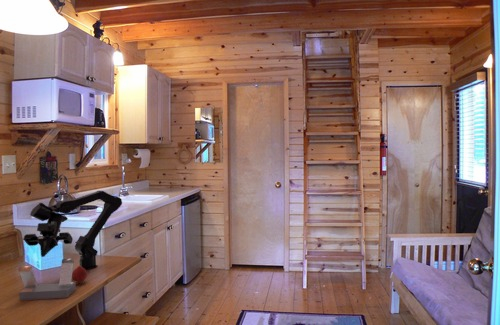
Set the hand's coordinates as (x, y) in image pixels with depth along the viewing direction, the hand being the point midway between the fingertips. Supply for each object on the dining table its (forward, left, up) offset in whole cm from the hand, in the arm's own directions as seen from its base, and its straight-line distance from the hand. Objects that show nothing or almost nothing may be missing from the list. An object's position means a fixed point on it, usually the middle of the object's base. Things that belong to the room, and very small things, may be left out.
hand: (42, 256), depth 149 cm
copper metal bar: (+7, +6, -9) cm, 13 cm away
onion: (-11, +8, -13) cm, 20 cm away
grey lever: (-3, +16, -9) cm, 18 cm away
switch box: (+2, +11, -13) cm, 17 cm away
